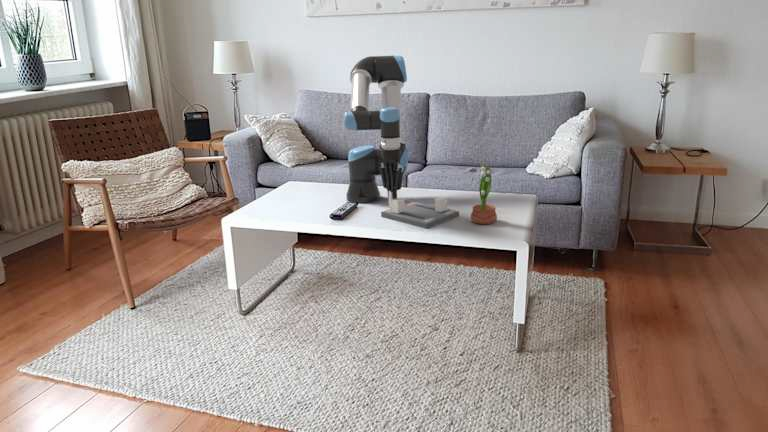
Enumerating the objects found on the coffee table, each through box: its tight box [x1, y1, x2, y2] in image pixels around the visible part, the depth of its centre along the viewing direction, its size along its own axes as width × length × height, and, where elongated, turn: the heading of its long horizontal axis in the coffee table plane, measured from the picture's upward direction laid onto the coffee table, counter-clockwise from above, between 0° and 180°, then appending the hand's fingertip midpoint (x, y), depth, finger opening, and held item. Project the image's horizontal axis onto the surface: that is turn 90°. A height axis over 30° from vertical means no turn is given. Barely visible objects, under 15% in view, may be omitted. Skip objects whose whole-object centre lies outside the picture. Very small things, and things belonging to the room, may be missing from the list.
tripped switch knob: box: [391, 197, 406, 213], centre depth 231 cm, size 3×4×5 cm
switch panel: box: [380, 200, 460, 229], centre depth 232 cm, size 24×20×2 cm
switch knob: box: [434, 196, 448, 212], centre depth 231 cm, size 3×4×5 cm
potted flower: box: [470, 158, 498, 225], centre depth 219 cm, size 12×10×25 cm
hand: (392, 206), depth 233 cm, fingers closed
